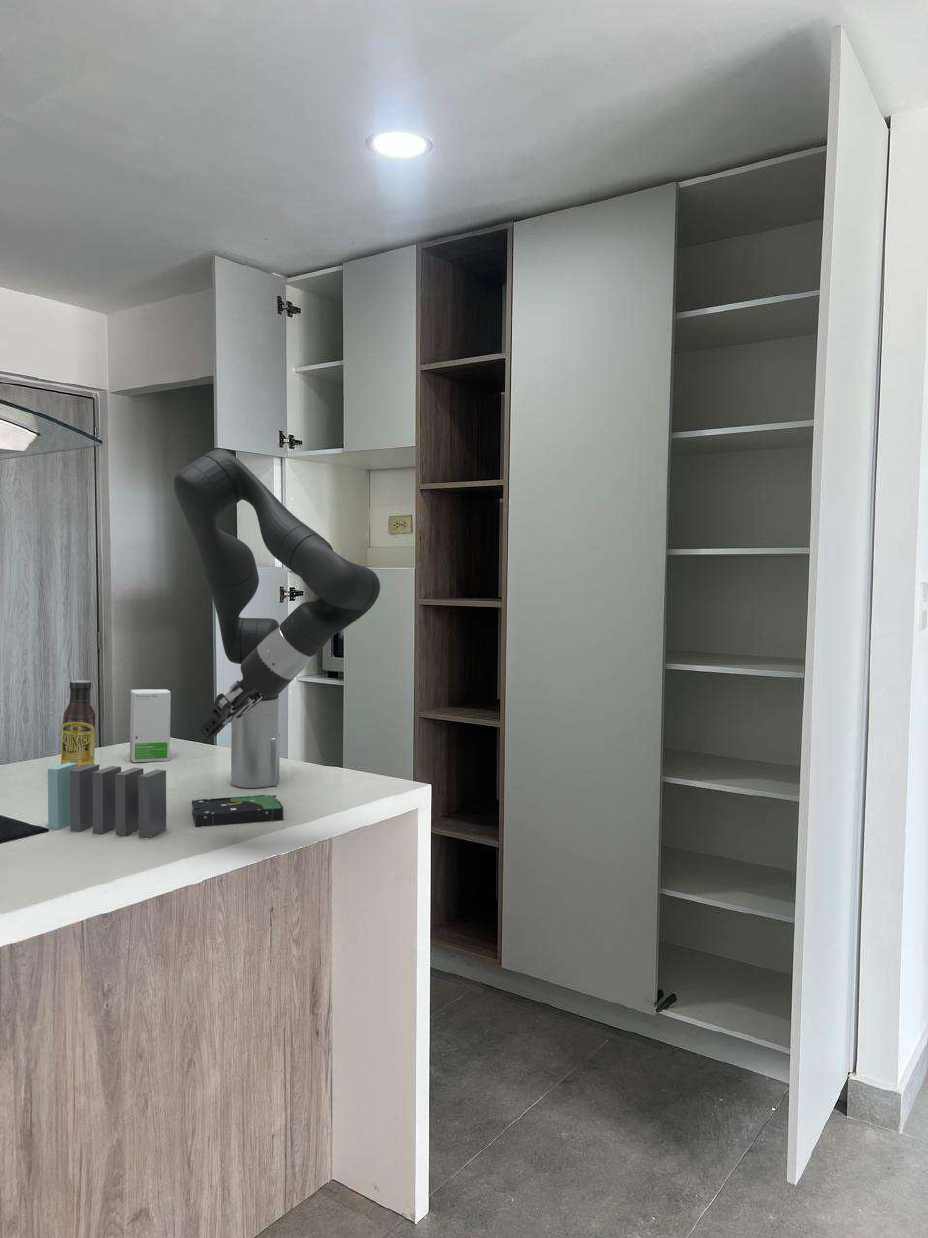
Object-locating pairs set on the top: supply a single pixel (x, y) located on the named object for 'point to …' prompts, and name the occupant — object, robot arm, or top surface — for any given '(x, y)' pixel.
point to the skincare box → (150, 725)
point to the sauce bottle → (78, 726)
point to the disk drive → (236, 810)
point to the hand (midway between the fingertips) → (206, 734)
